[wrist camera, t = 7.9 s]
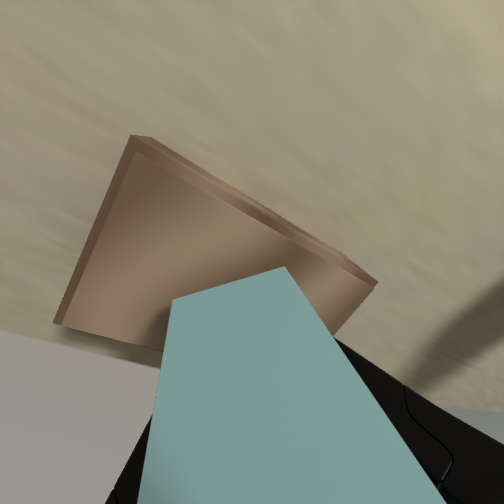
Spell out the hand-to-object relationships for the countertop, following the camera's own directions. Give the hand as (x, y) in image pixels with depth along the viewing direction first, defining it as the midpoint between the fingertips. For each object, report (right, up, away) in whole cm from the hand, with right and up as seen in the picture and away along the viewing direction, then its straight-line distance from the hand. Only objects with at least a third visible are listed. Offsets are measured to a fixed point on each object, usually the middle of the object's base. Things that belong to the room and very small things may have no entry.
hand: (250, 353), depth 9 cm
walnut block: (-2, +3, +6) cm, 7 cm away
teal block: (0, +1, +1) cm, 2 cm away
